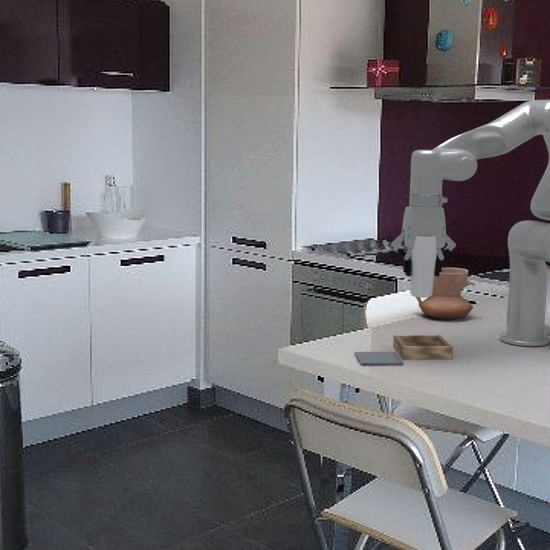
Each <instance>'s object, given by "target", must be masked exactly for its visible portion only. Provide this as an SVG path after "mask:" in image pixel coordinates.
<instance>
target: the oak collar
mask: <svg viewBox="0 0 550 550" xmlns="http://www.w3.org/2000/svg"><path fill="white" fill-rule="evenodd" d="M392 338H393V339H392V340H393V341H392V344H393V345H392V347H393V349H394V350H395V352H396V353H397V355H398V356H399V357H400V358H402V359H401V360H453V352H454V351H453V350H454V347H453V346H452V344H450V343H449V341H447V340H446V339H445V338H444V337H443V336H442V335H441V334H393V337H392Z"/></svg>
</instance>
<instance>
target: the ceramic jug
mask: <svg viewBox="0 0 550 550" xmlns="http://www.w3.org/2000/svg"><path fill="white" fill-rule="evenodd" d="M468 276H469V270H468V269H466V268H462V267H461V268H459V267H442V272H441V273H440V274H439V277H437V276H435V275H434V281H433V293H432V296H430V297H425V299H424V300H422V299H421V297H415V299H416V300H417V302H418V307H419V309H420V310H421V312H422V313H423V314H425V315H426V316H429V317H431V318H433V319H434V318H435V319H437V320H446V321H447V320H448V321H449V320H450V321H451V320H458V319H461V318H464V317H466V316H468V315H469V314H470V313H471V311H472V310H473V308H474V305H473V304H472V303H471V302H469V300H467V299H466V298H464V296H462V295H461V294H462V292H463V290H464V288H465V287H467V286H469V285H472V286H473V287H475V286H476V283H477V281H475V280H473V279H469V280H468Z"/></svg>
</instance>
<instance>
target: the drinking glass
mask: <svg viewBox="0 0 550 550" xmlns="http://www.w3.org/2000/svg"><path fill="white" fill-rule="evenodd" d="M436 257H437V248H436V237H435V236H430V237H423V236H416V240H415V245H414V248H413V249H412V254H411V256H410V260H411V276H410V278H409V281H410V283H409V285H410V292H409V293H410V295H411V296H412V297H415V298H416V297H420V298H422V299H423V298H428V297H430V296H432V293H433V281H434V273H435V265H436Z"/></svg>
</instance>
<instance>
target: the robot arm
mask: <svg viewBox="0 0 550 550" xmlns="http://www.w3.org/2000/svg"><path fill="white" fill-rule="evenodd" d="M539 135H542V137H543V140H544V142H545V145H546V147H547V148H546V149H547V152H548V163H547V166H546V168H545V171H544V173H543V175H542V177H541V179H540V181H539V183H538V185H537V187H536V190H535V192H534V194H533V196H532V198H531V200H530V212H531V213H532V214H533V215H534V216H535V217H537V218H539V219H542V220H547V221H550V99H536V100H535V99H533V100H529V101H525V102H522V103H521V104H520V105H518V106H516V107H515V108H513V109H511V110H510V111H508V112H506V113H504V114H503V115H501V116H500V117H498V118H496V119H494V120H492V121H491V122H489V123H487V124H484V125H481V126H479V127H476V128H473V129H472V130H469V131H466V132H463V133H461V134H458V135H455V136H453V137H451V138H450V139H448V140H445V141H444V142H442V143H441V144H439V145H438V146H436V147H434V148H433V149H417V150H414V151H413V152H412V153H411V159H410V182H409V184H410V185H409V204H408V206H406V207H405V209H404V213H403V219H402V220H403V221H402V227H401V233H400V234H399V235H398V236H397V237H395V239H394V240H393V241H392V242H391V243H390V245H391V247H393V249H394V250H395V251H396V252H397V254H399V256H400V257H401V258H402V259H403V260H402V261H403V267H402V271H403V273H404V275H405V276H406V277H410V276H411V260H410V256H411V254H412V249H413V248H414V245H415V240H416V236H423V237H430V236H435V237H436V248H437V257H436V265H435V273H434V275H435V276H437V277H439V274H440V273H441V272H442V268H443V260H444V259H445V258H446V257H447V256H448V254H450V252H452V251H453V250H454V249H455V248H456V247H457V244H456V242H455V241H454V240H452V239H451V238H450V236H449V235H448V234H447V233H446V232H447V231H446V230H447V229H446V227H447V226H446V215H445V211H444V208H443V207H442V206H443V204H447V203H448V197H445V196H443V180H447V181H455V182H463V181H466V180H470V178H472V177H473V176H474V175H475V173H476V172H477V169H478V161H477V160H480V159H487V158H488V159H489V158H493V157H497V156H498V157H499V156H501V155H506V154H507V153H509V152H511V151H512V150H514V149H516V148H517V147H519V146H521V145H523V144H524V143H526V142H527V141H529V140H531V139H532V138H533V137H537V136H539ZM446 243H447V246H446ZM400 244H401V245H402V246H403V247H405V248H404V250H403V248H401V246H400ZM445 246H446V247H445ZM507 247H508V248H507V249H508V256H509V279H508V280H509V281H508V297H507V298H508V299H507V312H506V313H507V314H506V315H507V316H506V329H505V331H503V332H501V333H499V340H500V341H502V342H504V343H506V344H510V345H515V346H520V347H521V346H522V347H540V346H541V347H543V346H546V345H549V344H550V326H549V325H547V324H545V320H546V308H547V306H546V305H547V292H548V282H549V281H548V280H549V279H548V277H549V273H548V267H547V264H546V262H548V263H550V223H548V222H543V221H537V220H522V221H518V222H517V223H515V224H514V225H513V226H512V227H511V228H510V230H509V232H508V236H507Z"/></svg>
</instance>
